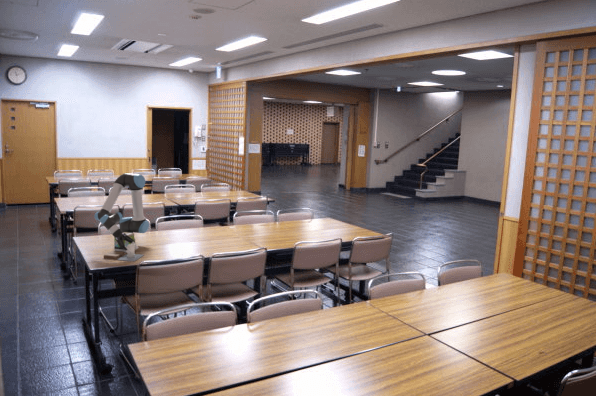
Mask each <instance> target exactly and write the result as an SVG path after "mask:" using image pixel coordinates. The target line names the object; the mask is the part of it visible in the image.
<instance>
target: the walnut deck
mask: <svg viewBox="0 0 596 396" xmlns="http://www.w3.org/2000/svg"><path fill="white" fill-rule="evenodd" d="M124 255H126V253H125V252H123V251H114V250H111V251H109V252H107V253H105V254H104V255H103V259H110V260H117V259H119V258H121V257H122V256H124Z"/></svg>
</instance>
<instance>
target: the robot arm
mask: <svg viewBox="0 0 596 396" xmlns="http://www.w3.org/2000/svg"><path fill="white" fill-rule="evenodd" d="M145 185H146V179H145V177H144V175H142V174H139V173H129V172H125V173H122V174H120V175H119V176H118V177H117V178H116V179H115V181H114V182H113V185H112V186H113V187H112V188H111V190H110V192H109V194H108V196H107V197H106V200H105V201H104V204H103V205H102V206H101V209H100V211H97V212H95V213H94V215H93V216H94V219H95V221H99V222H100V223H101V224H102V226H104V228H105V229H107V231H109V233H110V234H111V235H112V236H113V237H115V239H116V241H117V243H118V245H119V246H120V248H121V249H122V248H123V249H124V250H125V251H126V254H127V253H128V254H129V253H130V252H131V251H130V250H129V249H128V248H127V247H126V246H125V245H124V242H123V240H125V241H127V242H129V243H131V244H134V245H135V250H138V249H139V246H138V245H137V244H136V238H135V237H134V240H133V239H132V238H130V237H129V236H128V235H126V234H125V233H124V232H127V233H134V234H136V233H138V234H145V233H147V231H148V230H149V228H150V222H149V221H148V220H147V218H146V216H145V215H144V205H143V193H142V192H143V189H144V187H145ZM126 187H127V188H128V189H129V191H130V192H131V193H130V195H131V205H132V213H133V214H132V215H133V216H126V217H125V216H124V217H123V214H122V212H120V211H118V212H114V213H113V212H112V210H113V207H114V206H115V204H116V201H117V200H118V198H119V196H120V195H121V193H122V192H123V191H124V190H125V188H126ZM122 190H123V191H122ZM117 223H118V224H119V226H118V225H117ZM122 233H124V234H122ZM133 241H134V242H133Z"/></svg>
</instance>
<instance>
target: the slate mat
mask: <svg viewBox="0 0 596 396" xmlns="http://www.w3.org/2000/svg"><path fill="white" fill-rule="evenodd" d="M144 256H145V254H143V253H142V254H141V253H140V254H139V253H135V257H133V258H128V257H127V253H125V255H123V256H122V257H120V258H118V259H116V260H117V261H124V262H136V261H137V260H139V259H140V258H142V257H144Z"/></svg>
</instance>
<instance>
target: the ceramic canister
mask: <svg viewBox="0 0 596 396" xmlns="http://www.w3.org/2000/svg"><path fill="white" fill-rule="evenodd" d="M127 248H128V249H129V250H130V251H131V252H130V253H129V254H128V253H127V252H126V254H127V257H128V258H133V257H135V254H136V251H135V250H136V249H135V245H134V244H128V245H127Z"/></svg>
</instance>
